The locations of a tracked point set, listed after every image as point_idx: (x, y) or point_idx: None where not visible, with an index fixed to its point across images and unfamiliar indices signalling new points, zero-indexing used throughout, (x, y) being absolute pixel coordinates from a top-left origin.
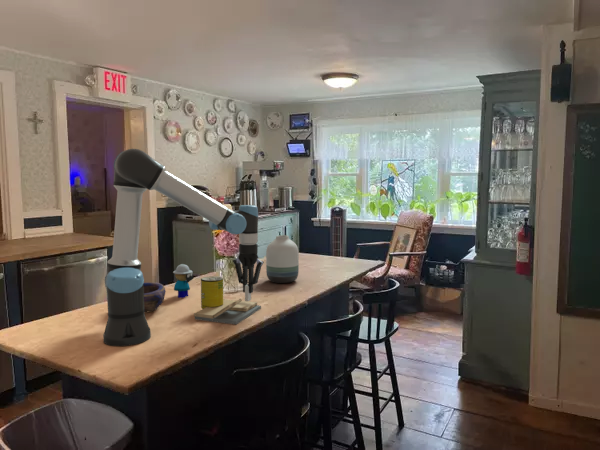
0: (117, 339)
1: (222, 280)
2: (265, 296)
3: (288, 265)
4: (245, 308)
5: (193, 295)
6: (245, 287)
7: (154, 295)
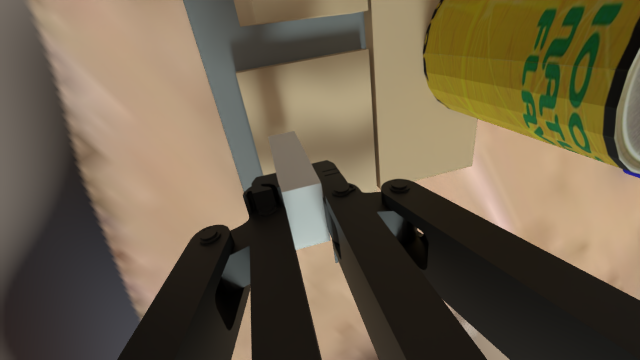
0: None
1: (597, 95)
2: (346, 327)
3: None
4: (245, 74)
5: (603, 183)
6: (309, 175)
7: None
